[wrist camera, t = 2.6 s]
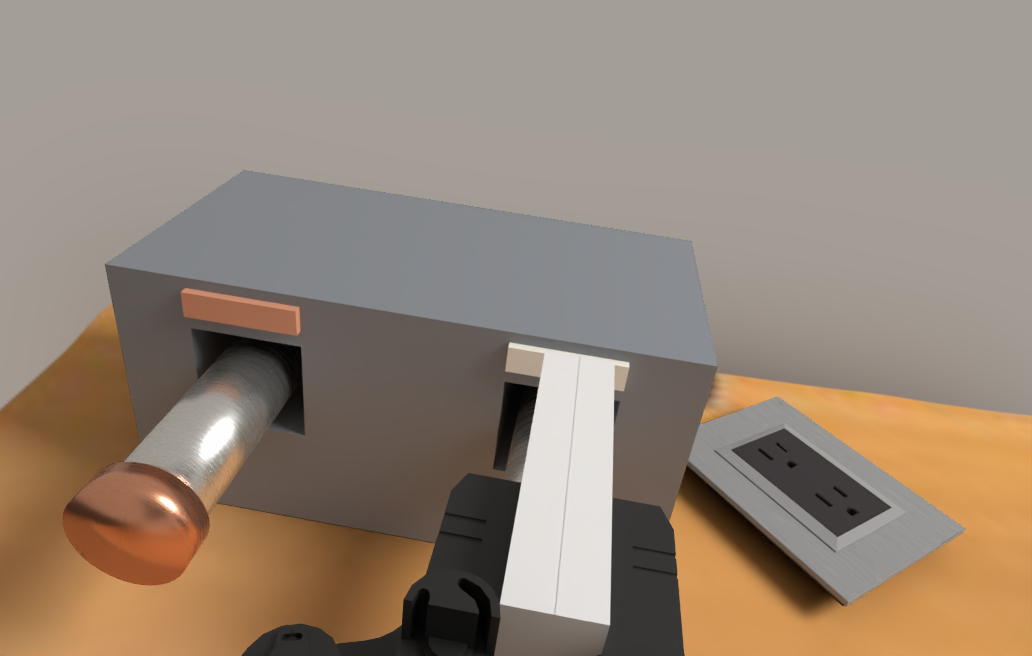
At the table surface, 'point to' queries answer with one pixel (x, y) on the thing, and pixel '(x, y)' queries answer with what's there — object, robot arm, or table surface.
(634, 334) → the housing
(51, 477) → the table surface
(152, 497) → the plug terracotta
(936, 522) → the electrical outlet
